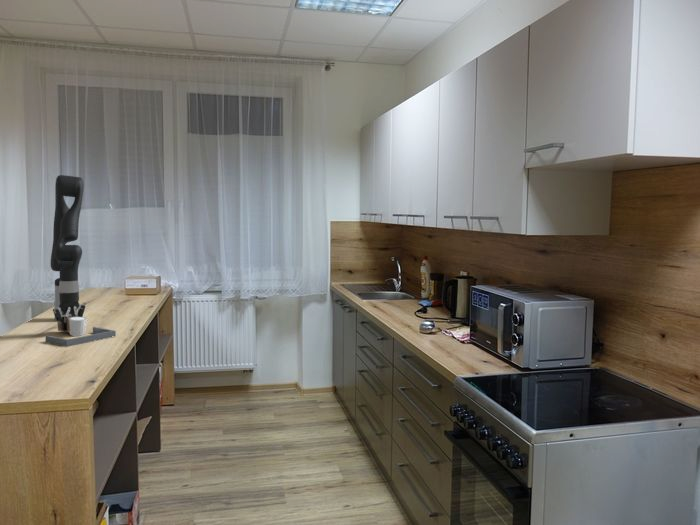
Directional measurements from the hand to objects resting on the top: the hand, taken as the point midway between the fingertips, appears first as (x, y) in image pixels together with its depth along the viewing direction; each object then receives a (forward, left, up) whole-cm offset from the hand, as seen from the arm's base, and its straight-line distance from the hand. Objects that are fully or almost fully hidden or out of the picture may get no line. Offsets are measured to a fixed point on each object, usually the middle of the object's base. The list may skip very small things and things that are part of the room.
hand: (69, 329), depth 232 cm
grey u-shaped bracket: (+14, -4, -2) cm, 14 cm away
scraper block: (-1, 0, -1) cm, 2 cm away
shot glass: (+5, 0, -2) cm, 5 cm away
